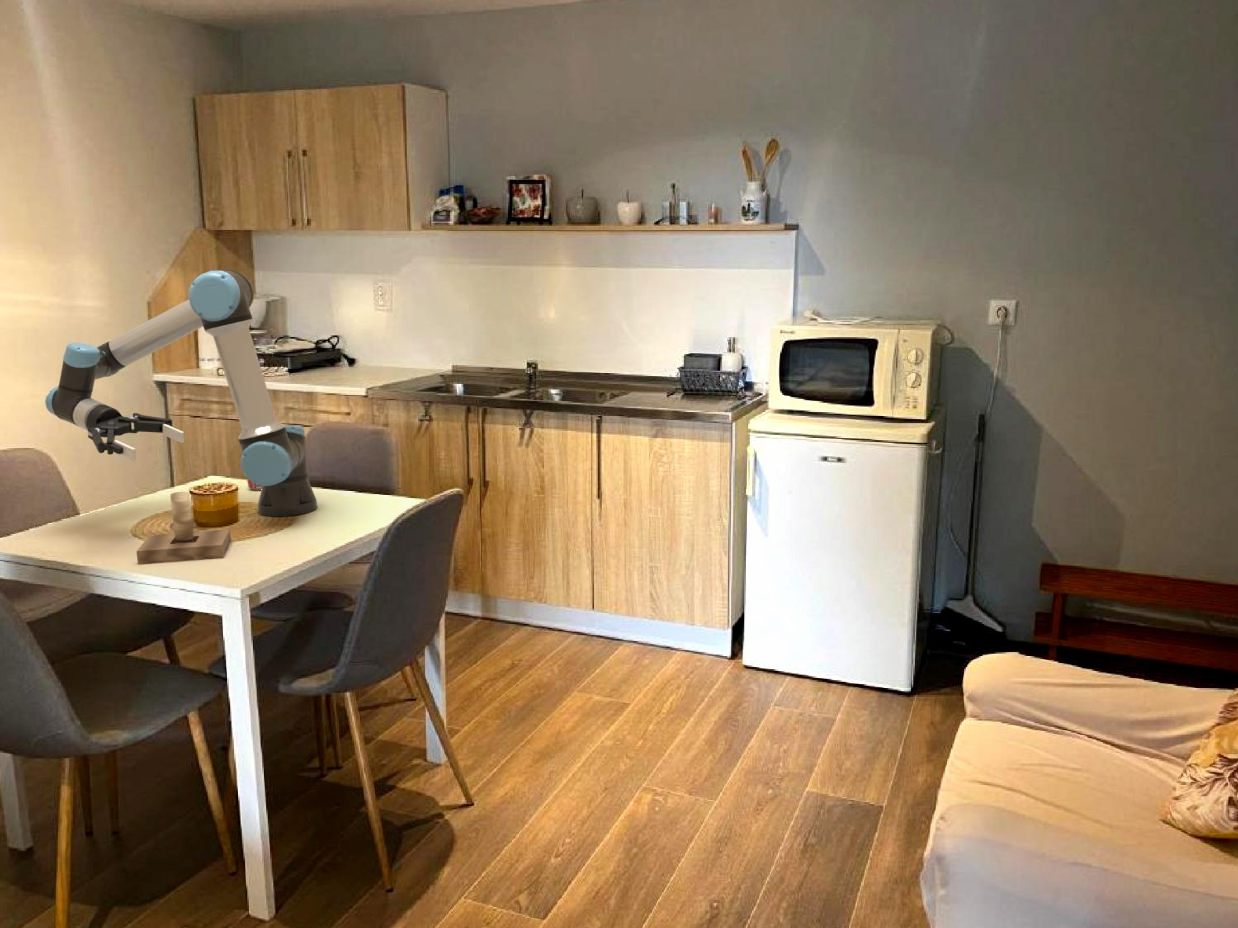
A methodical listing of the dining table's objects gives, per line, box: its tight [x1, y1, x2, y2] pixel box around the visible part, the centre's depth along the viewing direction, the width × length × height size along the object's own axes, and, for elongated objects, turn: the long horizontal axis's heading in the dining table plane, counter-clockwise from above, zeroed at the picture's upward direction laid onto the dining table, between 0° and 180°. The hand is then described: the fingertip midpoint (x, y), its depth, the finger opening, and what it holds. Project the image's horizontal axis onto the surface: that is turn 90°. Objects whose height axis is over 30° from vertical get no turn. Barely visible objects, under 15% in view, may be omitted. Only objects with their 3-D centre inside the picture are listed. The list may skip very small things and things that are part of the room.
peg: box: [169, 491, 194, 544], centre depth 239 cm, size 4×4×14 cm
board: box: [136, 529, 232, 565], centre depth 240 cm, size 18×14×3 cm
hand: (159, 445), depth 244 cm, fingers open, 13 cm apart
